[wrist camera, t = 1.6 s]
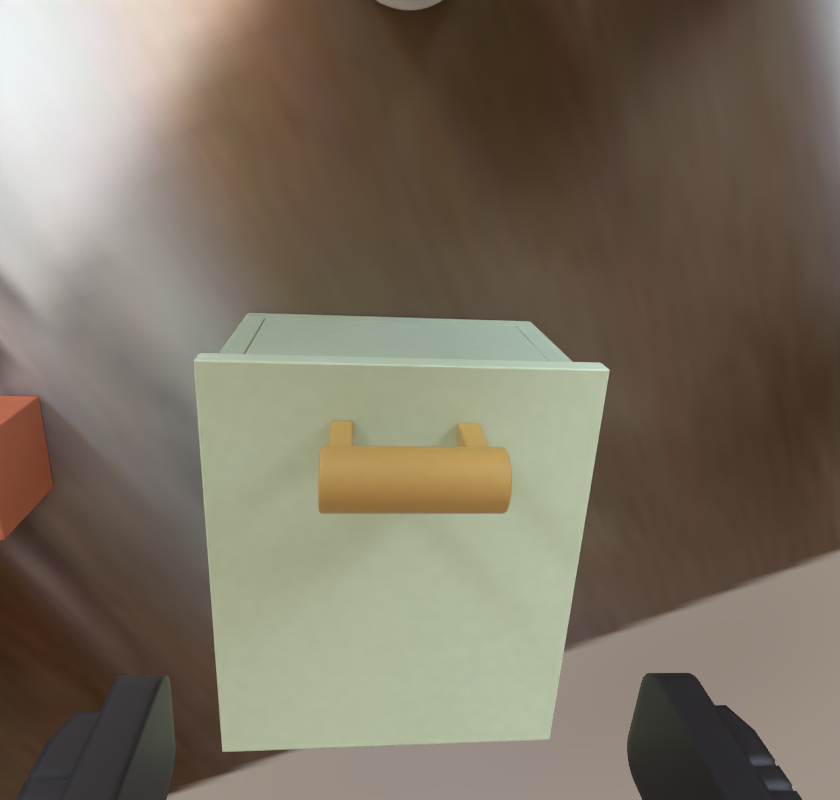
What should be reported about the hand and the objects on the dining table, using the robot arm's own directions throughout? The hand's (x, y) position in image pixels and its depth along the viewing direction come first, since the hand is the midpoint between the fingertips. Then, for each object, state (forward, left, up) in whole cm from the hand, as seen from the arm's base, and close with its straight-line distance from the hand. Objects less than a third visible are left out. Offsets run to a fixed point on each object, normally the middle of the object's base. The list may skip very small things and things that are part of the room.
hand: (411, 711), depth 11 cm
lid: (+5, +1, -11) cm, 12 cm away
